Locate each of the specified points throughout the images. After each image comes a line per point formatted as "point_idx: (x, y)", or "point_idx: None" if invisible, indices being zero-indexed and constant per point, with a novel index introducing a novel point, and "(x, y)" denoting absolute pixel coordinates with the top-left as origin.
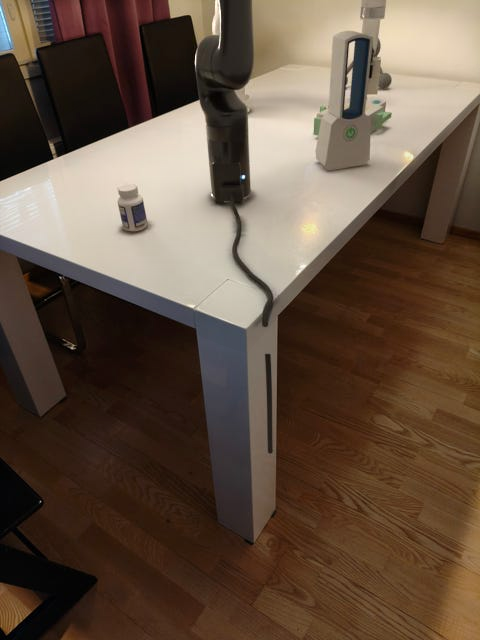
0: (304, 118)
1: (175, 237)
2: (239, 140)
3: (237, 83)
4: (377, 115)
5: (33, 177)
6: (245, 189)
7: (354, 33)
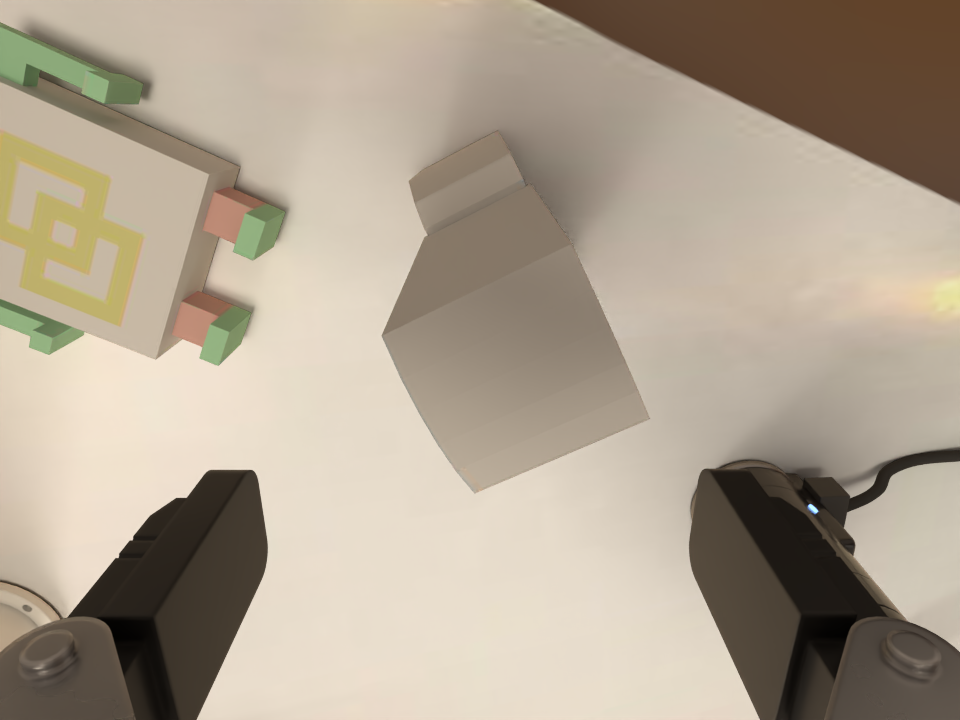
0: (5, 388)
1: (950, 569)
2: (875, 583)
3: None
4: (108, 97)
5: None
6: (790, 484)
7: (557, 377)
